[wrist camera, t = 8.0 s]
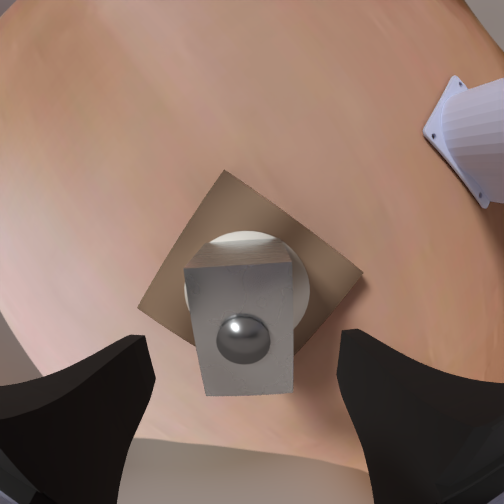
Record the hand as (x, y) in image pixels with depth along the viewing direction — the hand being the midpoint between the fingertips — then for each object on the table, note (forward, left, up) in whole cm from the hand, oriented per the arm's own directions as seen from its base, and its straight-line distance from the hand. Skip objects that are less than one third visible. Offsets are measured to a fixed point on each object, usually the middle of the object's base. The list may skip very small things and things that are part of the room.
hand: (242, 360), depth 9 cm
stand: (0, +1, -10) cm, 10 cm away
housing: (0, +1, -8) cm, 8 cm away
